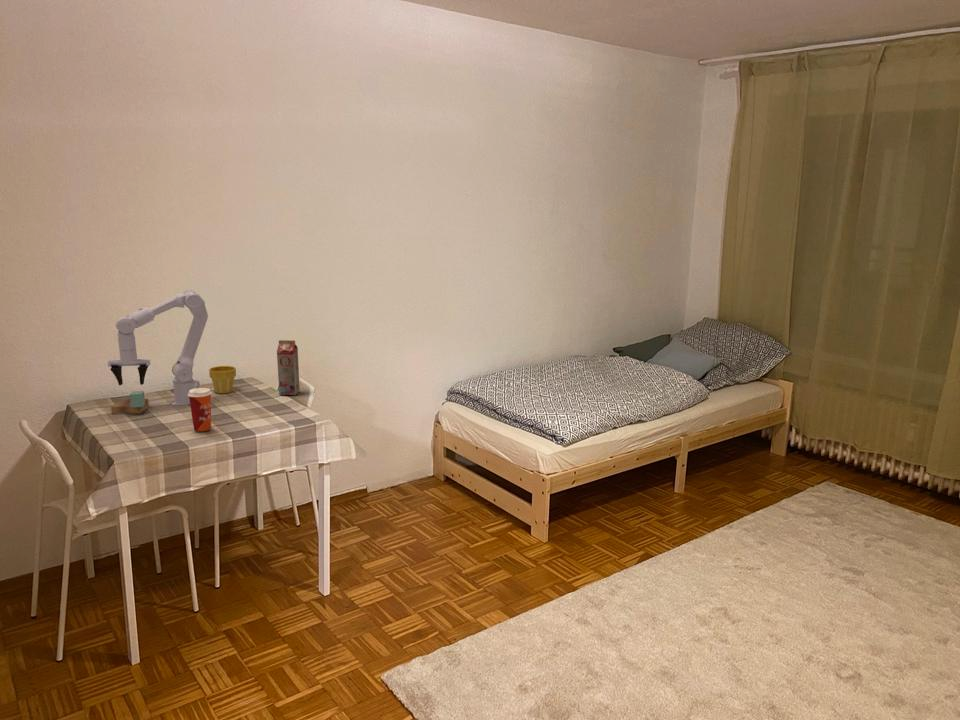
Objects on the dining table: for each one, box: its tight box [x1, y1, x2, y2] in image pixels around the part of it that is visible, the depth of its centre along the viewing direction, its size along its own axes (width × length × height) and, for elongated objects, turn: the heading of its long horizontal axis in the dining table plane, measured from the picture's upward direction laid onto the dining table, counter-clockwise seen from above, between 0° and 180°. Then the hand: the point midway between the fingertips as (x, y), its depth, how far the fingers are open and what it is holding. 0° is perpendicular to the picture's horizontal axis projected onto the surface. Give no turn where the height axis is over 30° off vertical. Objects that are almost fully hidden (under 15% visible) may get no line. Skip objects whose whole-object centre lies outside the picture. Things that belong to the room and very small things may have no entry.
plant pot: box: [208, 365, 237, 394], centre depth 299 cm, size 10×10×10 cm
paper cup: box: [188, 387, 212, 432], centre depth 252 cm, size 8×8×14 cm
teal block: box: [129, 390, 146, 407], centre depth 268 cm, size 4×4×5 cm
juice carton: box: [276, 339, 301, 396], centre depth 297 cm, size 7×7×22 cm
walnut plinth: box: [110, 398, 149, 415], centre depth 273 cm, size 10×10×3 cm
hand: (131, 384), depth 274 cm, fingers open, 7 cm apart
